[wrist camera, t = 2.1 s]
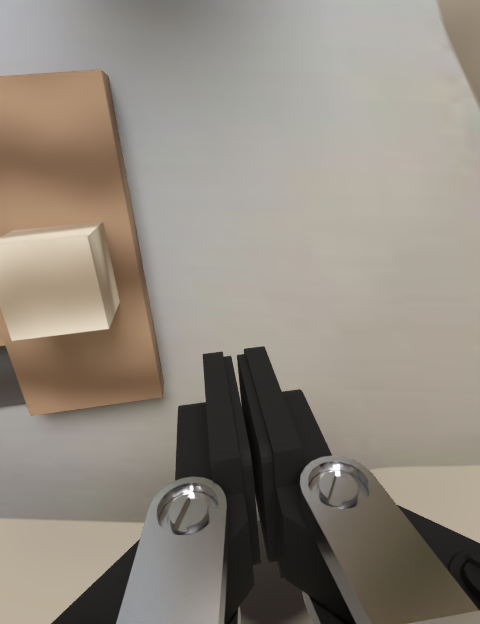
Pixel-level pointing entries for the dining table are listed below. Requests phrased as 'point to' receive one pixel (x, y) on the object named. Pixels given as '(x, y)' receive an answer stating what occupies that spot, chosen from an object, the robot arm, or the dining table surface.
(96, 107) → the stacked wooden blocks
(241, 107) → the dining table surface
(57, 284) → the block
